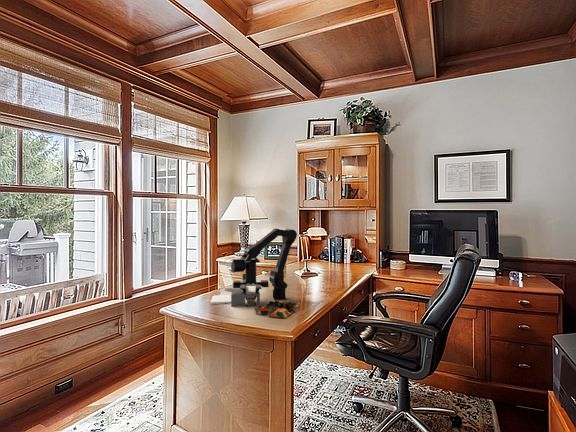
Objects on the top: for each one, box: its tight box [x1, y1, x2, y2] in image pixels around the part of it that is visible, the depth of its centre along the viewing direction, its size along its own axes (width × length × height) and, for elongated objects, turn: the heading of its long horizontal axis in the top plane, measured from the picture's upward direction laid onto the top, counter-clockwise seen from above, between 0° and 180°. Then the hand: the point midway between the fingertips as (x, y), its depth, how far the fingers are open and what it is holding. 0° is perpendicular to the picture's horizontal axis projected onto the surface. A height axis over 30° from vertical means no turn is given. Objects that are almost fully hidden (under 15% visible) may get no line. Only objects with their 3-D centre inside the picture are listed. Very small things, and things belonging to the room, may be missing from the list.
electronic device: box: [224, 275, 250, 293], centre depth 211 cm, size 5×10×15 cm
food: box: [254, 300, 298, 319], centre depth 170 cm, size 22×19×4 cm
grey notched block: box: [230, 291, 261, 307], centre depth 181 cm, size 14×5×6 cm, turn 97°
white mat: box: [209, 294, 231, 305], centre depth 189 cm, size 12×14×1 cm
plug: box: [246, 296, 256, 308], centre depth 183 cm, size 4×12×4 cm, turn 6°
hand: (250, 300), depth 186 cm, fingers closed on plug, 4 cm apart
